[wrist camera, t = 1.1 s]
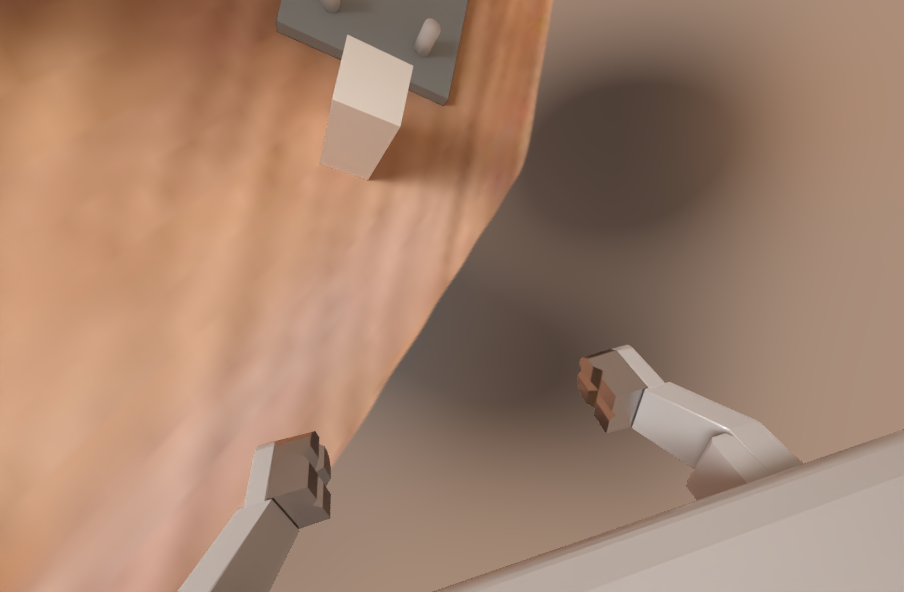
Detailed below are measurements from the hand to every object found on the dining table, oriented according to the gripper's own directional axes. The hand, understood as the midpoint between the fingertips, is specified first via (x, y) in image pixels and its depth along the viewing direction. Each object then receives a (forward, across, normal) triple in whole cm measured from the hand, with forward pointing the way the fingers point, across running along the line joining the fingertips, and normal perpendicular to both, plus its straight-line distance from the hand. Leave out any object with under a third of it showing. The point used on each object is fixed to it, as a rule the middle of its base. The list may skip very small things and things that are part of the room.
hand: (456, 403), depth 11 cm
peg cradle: (+46, -5, -11) cm, 47 cm away
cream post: (+35, +3, +1) cm, 35 cm away
